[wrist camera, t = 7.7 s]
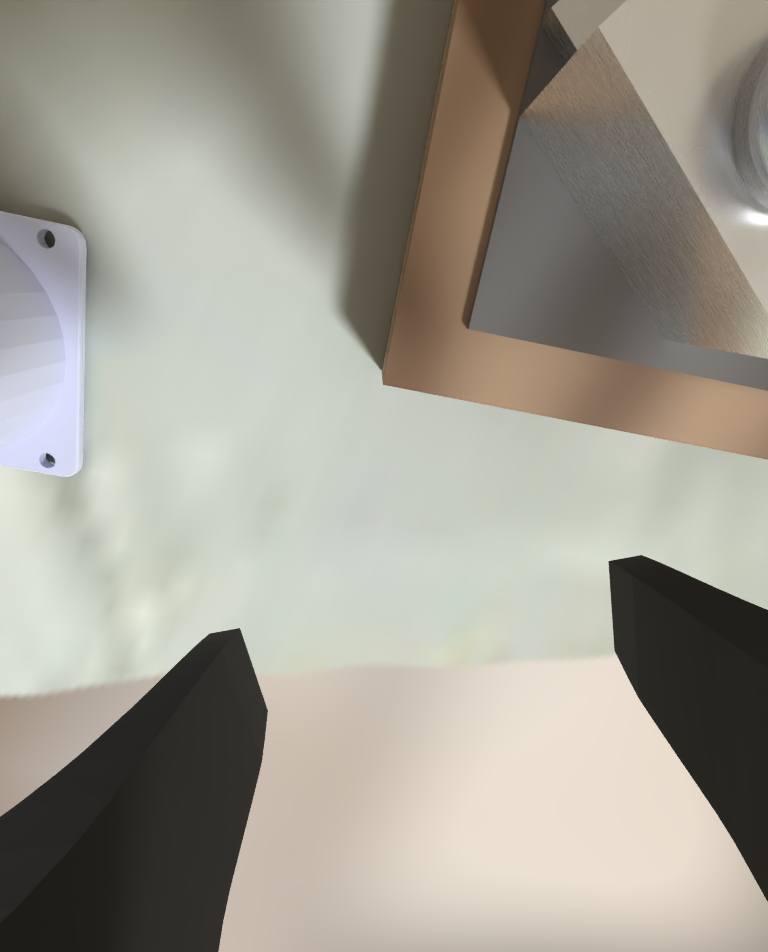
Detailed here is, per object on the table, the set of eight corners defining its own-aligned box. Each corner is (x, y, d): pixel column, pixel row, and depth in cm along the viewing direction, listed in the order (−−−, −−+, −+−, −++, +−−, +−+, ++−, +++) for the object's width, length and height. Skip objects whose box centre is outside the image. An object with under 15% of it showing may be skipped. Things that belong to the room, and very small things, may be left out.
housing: (687, 372, 16) (877, 425, 10) (489, 73, 13) (584, -98, 7) (837, 259, 15) (1146, 243, 9) (654, -86, 12) (917, -430, 6)
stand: (381, 371, 18) (382, 386, 15) (479, -131, 14) (504, -227, 11) (743, 442, 19) (802, 468, 17) (935, -4, 15) (1055, -65, 12)
